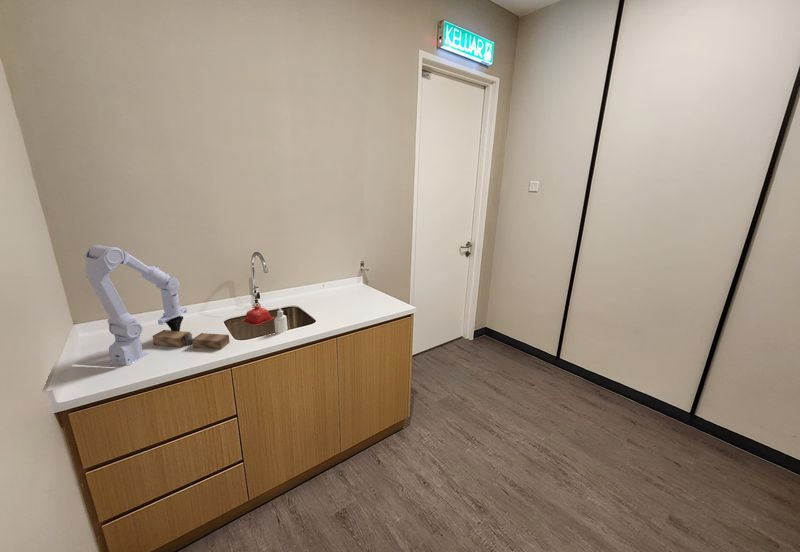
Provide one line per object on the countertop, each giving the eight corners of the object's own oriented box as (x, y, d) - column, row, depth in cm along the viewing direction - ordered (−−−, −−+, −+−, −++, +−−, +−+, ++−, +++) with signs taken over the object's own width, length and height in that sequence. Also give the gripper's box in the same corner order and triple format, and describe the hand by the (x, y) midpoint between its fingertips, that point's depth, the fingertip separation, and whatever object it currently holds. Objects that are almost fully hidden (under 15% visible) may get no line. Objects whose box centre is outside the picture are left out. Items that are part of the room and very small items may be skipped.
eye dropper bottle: (288, 333, 153) (287, 308, 150) (276, 335, 150) (274, 310, 147) (286, 329, 157) (285, 305, 154) (274, 332, 154) (272, 307, 151)
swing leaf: (197, 341, 143) (196, 331, 142) (187, 347, 137) (185, 337, 136) (165, 338, 145) (163, 329, 144) (154, 344, 139) (152, 334, 138)
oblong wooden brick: (229, 343, 142) (228, 334, 141) (221, 350, 136) (220, 341, 135) (202, 341, 143) (201, 333, 142) (193, 348, 137) (192, 339, 136)
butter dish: (240, 322, 164) (238, 306, 162) (260, 315, 173) (259, 300, 171) (255, 328, 158) (254, 311, 156) (275, 320, 168) (274, 304, 165)
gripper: (174, 297, 148) (179, 326, 152) (148, 309, 134) (154, 340, 138) (190, 298, 148) (194, 327, 151) (165, 310, 134) (170, 341, 138)
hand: (176, 333), depth 145 cm, fingers closed
